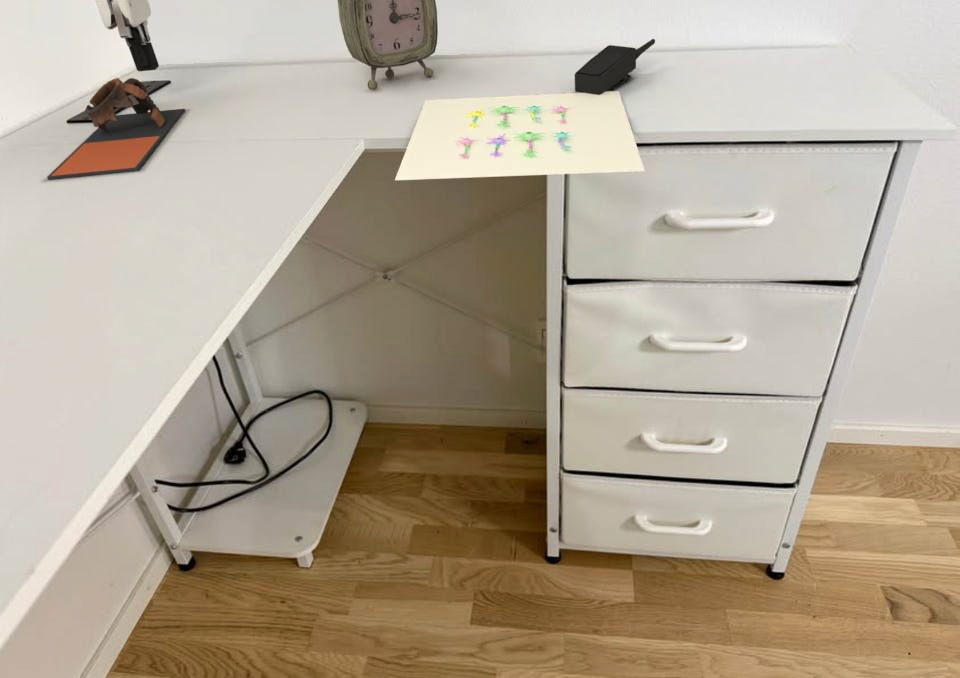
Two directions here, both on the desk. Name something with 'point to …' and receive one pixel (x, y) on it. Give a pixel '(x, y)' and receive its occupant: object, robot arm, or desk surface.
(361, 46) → the tabletop clock
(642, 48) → the walkie-talkie
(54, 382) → the desk surface
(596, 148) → the printed paper
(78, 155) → the desk mat
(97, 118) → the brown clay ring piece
